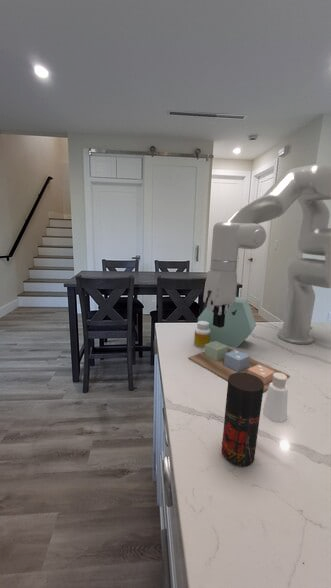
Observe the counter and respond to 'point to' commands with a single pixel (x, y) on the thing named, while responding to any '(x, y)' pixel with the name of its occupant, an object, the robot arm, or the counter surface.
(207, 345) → the tile one
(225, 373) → the board
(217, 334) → the mint hexagonal clock
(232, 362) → the tile two
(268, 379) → the tile three
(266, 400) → the pepper shaker
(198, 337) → the supplement bottle
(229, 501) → the counter surface
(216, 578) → the counter surface
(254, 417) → the deodorant
